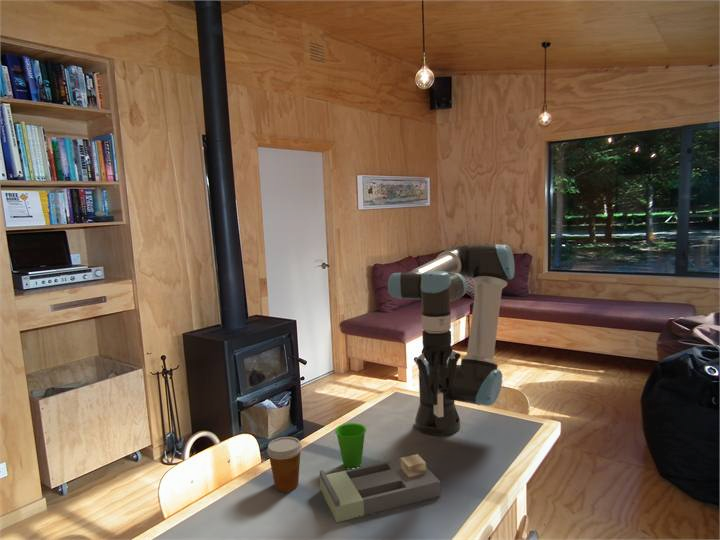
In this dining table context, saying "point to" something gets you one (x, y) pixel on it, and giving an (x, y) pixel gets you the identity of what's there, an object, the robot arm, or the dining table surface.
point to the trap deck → (375, 489)
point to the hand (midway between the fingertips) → (438, 415)
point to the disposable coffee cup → (285, 462)
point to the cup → (351, 443)
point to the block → (413, 465)
